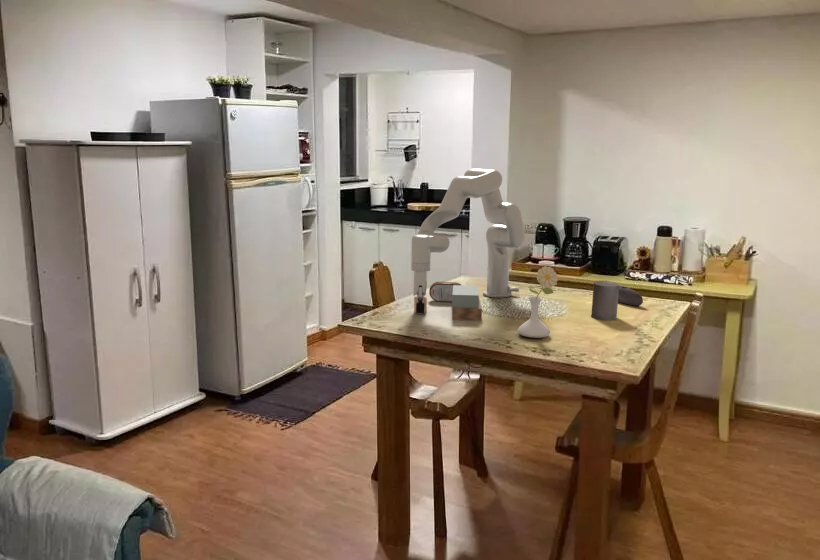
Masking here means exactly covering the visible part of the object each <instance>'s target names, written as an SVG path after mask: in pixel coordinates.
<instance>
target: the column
mask: <svg viewBox="0 0 820 560" xmlns="http://www.w3.org/2000/svg"><path fill="white" fill-rule="evenodd" d="M418 298H419V297H418ZM422 298H423V297H422ZM413 301H414V302H413V313H414V314H415V315H425V314H427V309H428V307H427V306H428V304H427V303H428V302H427V301H428V299H427V297H426V296H424V313H416V303H417V296H414V298H413ZM422 303H423V300H422Z"/></svg>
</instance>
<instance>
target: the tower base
mask: <svg viewBox="0 0 820 560" xmlns="http://www.w3.org/2000/svg"><path fill="white" fill-rule="evenodd" d="M481 304H482V303H481V300H480V298H479V305H478V308H452V307H451V316H452V320H453V321H482V316H483V315H482V314H483V313H482V312H483V307H482V305H481Z"/></svg>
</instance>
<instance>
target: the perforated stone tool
mask: <svg viewBox="0 0 820 560" xmlns="http://www.w3.org/2000/svg"><path fill="white" fill-rule="evenodd" d="M643 299H644V298H643V296H642V294H640V292H638V291H636V290H634V289H632V288H629V287H625V286H622V285H619V293H618V303H619V304H620V303H621V304H624V305H627V304H629V305H628V306H632V305H634V306H633V307H640V306H641V305H642V304H643V303H644V301H643Z"/></svg>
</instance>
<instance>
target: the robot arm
mask: <svg viewBox="0 0 820 560" xmlns="http://www.w3.org/2000/svg"><path fill="white" fill-rule="evenodd" d="M502 183H503V175H502V173H501V172H500V171H498V170H496V169H488V168H487V169H486V168H484V169H483V168H469V169H468V170H466V171H465V172H464V175H459V176H455V177H454V178H452V180H451V181H450V183H449V186H448V188H447V190H446V192H445V195H444V197H443V199H442V201H441V203H440V205H439V206H438V207H437V209H435V210H434V211H433V212H431V214H430V215H428V216H427V217H426V218H425V219H424V221H423V222H422V224H421V226H420V228H419V230H418V232H417V234H414V235H413V236H412V237H411V266H410V269H411V271H412V272H413V280H412V281H413V284H412V285H413V286H412V287H413V294H412V295H413V296H414V297H417V303H416V313H424V297H426V295H427V288H428V272H429V271H431V254H432V253H436V254H437V253H443V252H446V251H447V250H448V249H449V247H450V239H449V237H448V236H447V235H445V234H443V233H438V232H435V231H436V230H437V229H438V228H439V227H440V226H441V225H442V224H445V223H447V222H450V221H452V220H454V219H456V218H458V217H459V215H460V214H461V211H462V209H463V207H464V205H465V203H466V201H467V199H479V198H481V203H482V208H483V212H484V217H485V219H486V221H487V222H488V223H490V224H492V225H490V226H488V228H487V230H486V233H485V239H486V246H487V267H486V270H487V273H486V290H483V292H482V295H483V296H485V297H488V298H494V299H495V298H498V299H499V298H500V299H503V298H508V297H509V298H510V297H512V293H513V292H515V293H517V292H518V293H519V291H520V288H519V287H517V286H510V284H509V275H510V274H509V273H510V252H509V250H508V249H509V248H510V249H519V248H521V247H522V246H523V245H524V242H525V237H526V236H525V228H524V223H523V218H522V217H523V216H522V212H521V209H520V208H519V207H518V205H516V204H515V203H513V202H505V201H504V200H503V197H502V194H501V190H500V187H501V186H502ZM418 297H419V298H418ZM422 297H423V298H422ZM422 300H423V303H422Z"/></svg>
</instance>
